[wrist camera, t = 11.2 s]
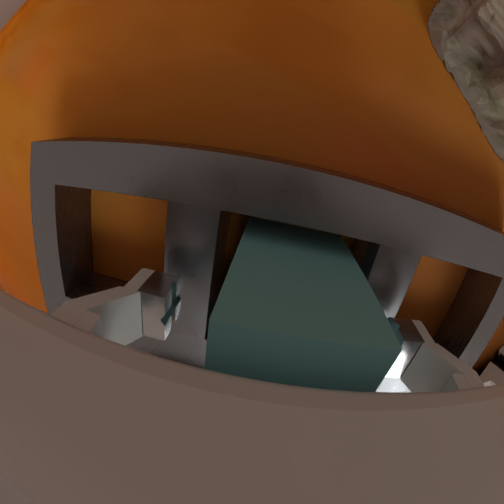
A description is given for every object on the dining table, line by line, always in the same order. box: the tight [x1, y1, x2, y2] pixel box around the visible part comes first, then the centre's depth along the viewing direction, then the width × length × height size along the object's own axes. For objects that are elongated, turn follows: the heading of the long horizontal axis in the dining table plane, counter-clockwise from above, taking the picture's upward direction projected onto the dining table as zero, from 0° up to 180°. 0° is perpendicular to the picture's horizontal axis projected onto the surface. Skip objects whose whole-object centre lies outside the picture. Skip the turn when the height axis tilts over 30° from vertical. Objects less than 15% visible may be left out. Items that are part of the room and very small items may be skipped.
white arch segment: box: [479, 345, 504, 387], centre depth 13 cm, size 17×5×10 cm, turn 31°
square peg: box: [204, 217, 402, 392], centre depth 10 cm, size 4×4×8 cm
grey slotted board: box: [30, 138, 504, 392], centre depth 12 cm, size 10×26×3 cm, turn 80°
